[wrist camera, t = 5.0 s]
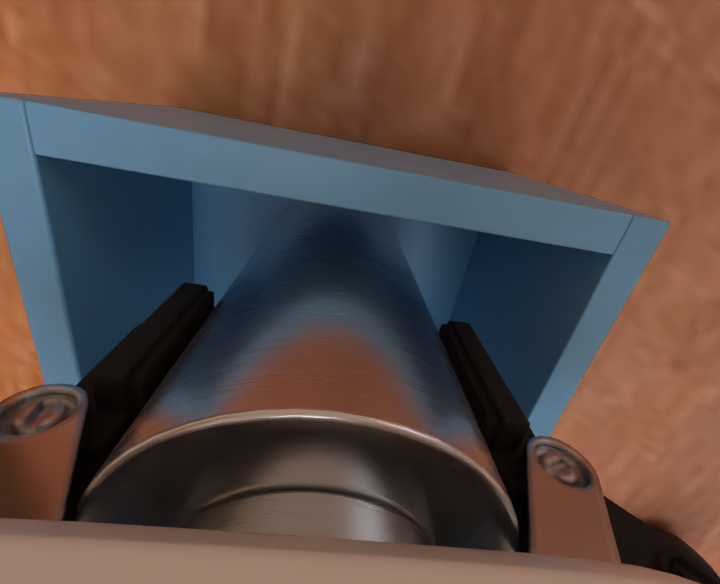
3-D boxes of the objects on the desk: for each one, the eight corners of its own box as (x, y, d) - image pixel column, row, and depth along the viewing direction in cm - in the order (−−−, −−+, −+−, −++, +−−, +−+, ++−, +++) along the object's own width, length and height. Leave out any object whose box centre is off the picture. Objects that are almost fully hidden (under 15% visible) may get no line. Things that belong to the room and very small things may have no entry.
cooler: (175, 106, 15) (-36, 89, 7) (510, 172, 16) (673, 222, 8) (187, 409, 22) (94, 577, 14) (419, 433, 24) (457, 597, 15)
